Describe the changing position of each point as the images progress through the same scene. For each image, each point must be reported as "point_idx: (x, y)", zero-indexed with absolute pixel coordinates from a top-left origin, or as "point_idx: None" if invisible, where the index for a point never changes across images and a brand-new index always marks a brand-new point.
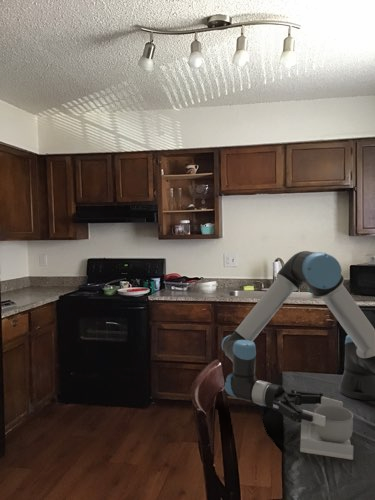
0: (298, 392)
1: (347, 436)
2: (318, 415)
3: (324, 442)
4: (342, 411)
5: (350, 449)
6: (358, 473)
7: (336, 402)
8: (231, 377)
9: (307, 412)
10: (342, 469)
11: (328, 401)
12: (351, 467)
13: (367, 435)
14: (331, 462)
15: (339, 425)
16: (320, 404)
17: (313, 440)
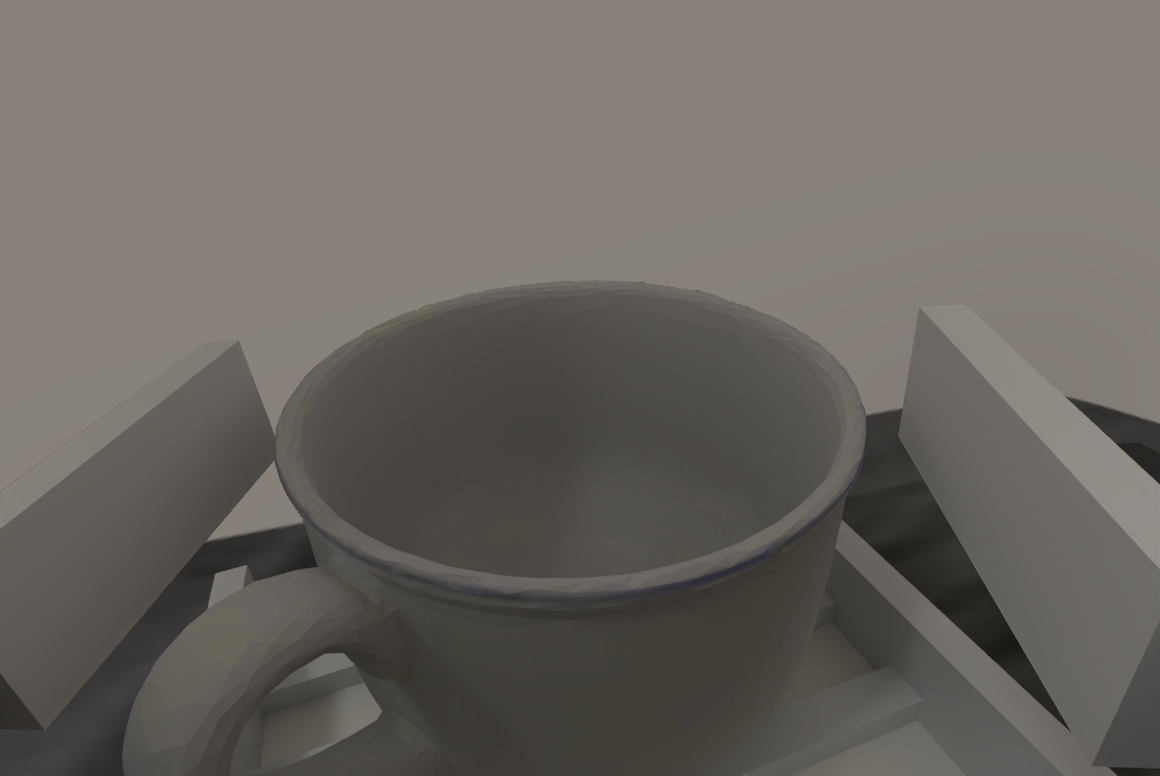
0: None
1: (663, 444)
2: (1010, 354)
3: (908, 591)
4: (359, 402)
5: None
6: (885, 456)
7: (197, 401)
8: None
9: (1157, 491)
10: (948, 522)
11: (107, 505)
12: (855, 495)
13: (259, 544)
14: (941, 603)
15: (755, 357)
16: (250, 593)
17: (1013, 701)
